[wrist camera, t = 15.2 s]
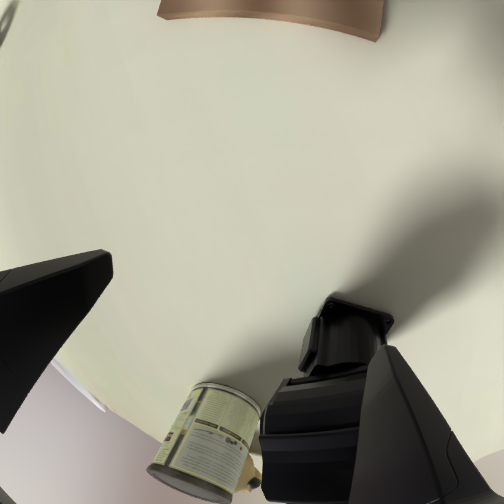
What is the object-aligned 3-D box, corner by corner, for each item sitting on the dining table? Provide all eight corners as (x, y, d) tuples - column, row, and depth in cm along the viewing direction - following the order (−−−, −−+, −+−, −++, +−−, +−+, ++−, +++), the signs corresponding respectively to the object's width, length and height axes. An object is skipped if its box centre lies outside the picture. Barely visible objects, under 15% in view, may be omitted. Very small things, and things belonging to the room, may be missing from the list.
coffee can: (255, 429, 34) (226, 508, 22) (191, 408, 36) (153, 480, 24) (269, 398, 30) (235, 499, 17) (190, 371, 31) (138, 461, 19)
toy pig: (248, 461, 42) (232, 503, 33) (197, 436, 42) (176, 480, 32) (279, 454, 37) (264, 504, 28) (222, 427, 37) (199, 480, 27)
